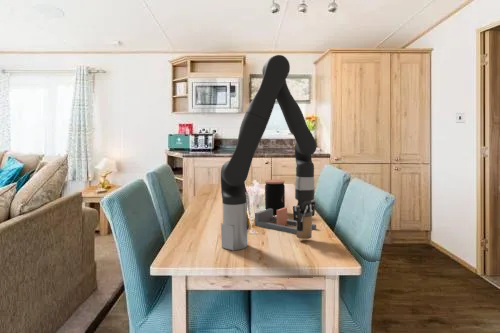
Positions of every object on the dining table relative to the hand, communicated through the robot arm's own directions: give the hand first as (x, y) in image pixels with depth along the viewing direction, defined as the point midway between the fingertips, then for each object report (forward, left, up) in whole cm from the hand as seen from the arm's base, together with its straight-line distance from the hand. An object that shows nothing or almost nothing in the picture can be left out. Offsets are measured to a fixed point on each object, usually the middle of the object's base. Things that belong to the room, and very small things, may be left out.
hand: (304, 228), depth 129 cm
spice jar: (0, 0, -3) cm, 3 cm away
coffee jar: (+30, +36, -5) cm, 47 cm away
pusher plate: (+11, +20, -4) cm, 23 cm away
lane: (+11, +17, -5) cm, 21 cm away
